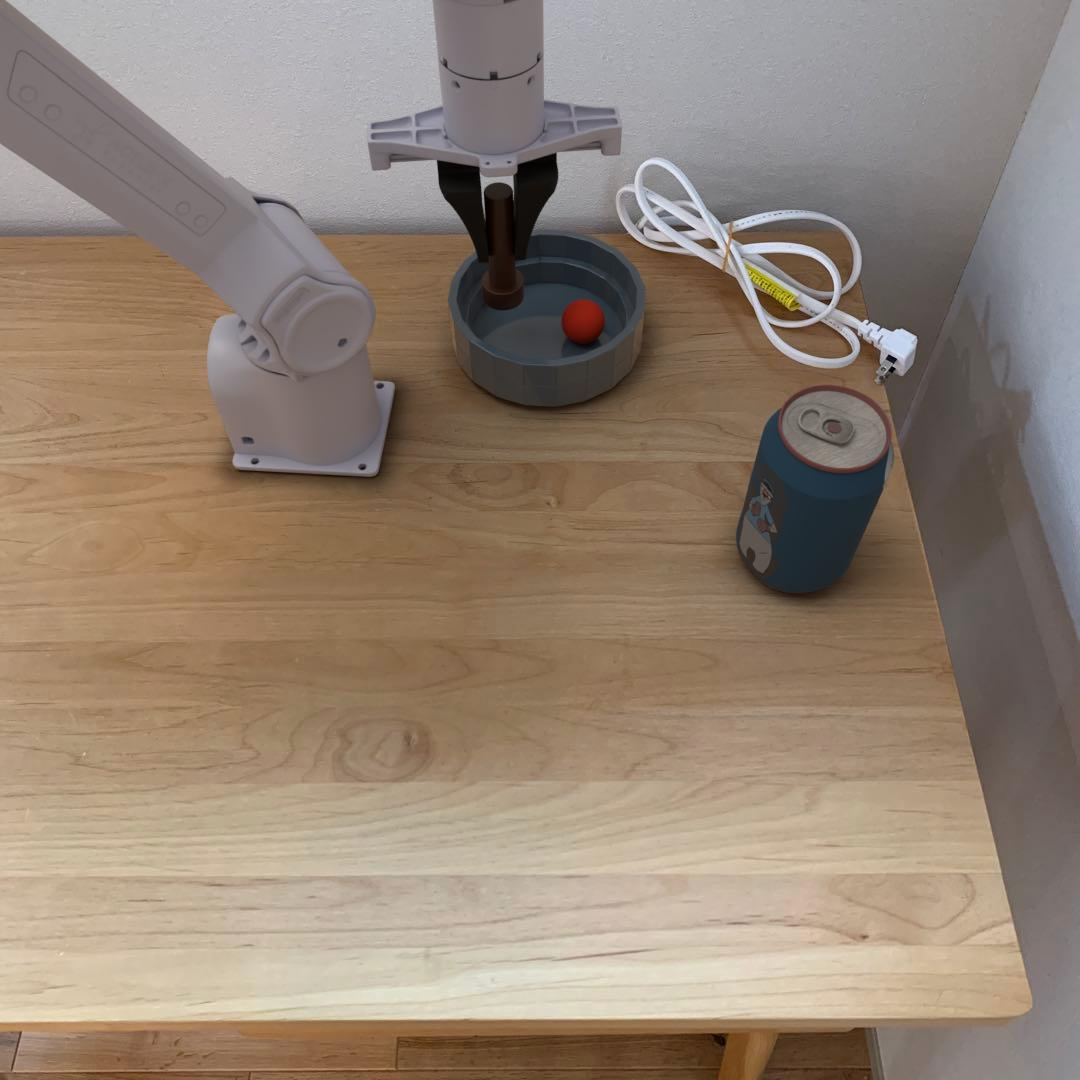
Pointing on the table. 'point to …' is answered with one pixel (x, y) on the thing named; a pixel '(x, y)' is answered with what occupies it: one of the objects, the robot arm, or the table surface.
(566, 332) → the red ball
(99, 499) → the table surface
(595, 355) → the bowl
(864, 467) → the soda can
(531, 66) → the robot arm
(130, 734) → the table surface
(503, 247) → the muddler
